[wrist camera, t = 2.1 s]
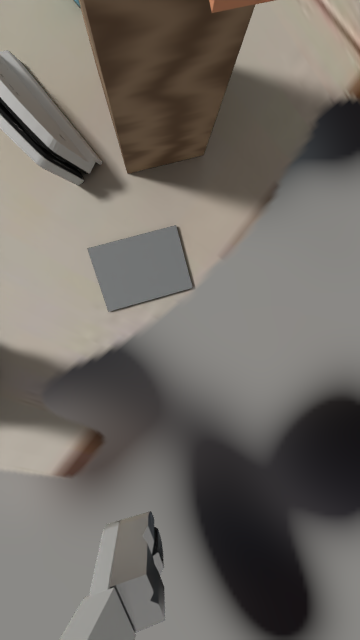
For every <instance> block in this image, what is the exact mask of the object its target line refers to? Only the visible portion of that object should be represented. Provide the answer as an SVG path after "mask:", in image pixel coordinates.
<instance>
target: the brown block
mask: <svg viewBox="0 0 360 640" xmlns="http://www.w3.org/2000/svg"><path fill="white" fill-rule="evenodd" d="M79 3H80V7H81V10H82V14H83V18H84V22H85V25H86V29H87V33H88V36H89V40H90V44H91V47H92V51H93V55H94V59H95V62H96V66H97V70H98V73H99V76H100V80H101V83H102V87H103V90H104V94H105V97H106V101H107V104H108V108H109V111H110V115H111V118H112V121H113V125H114V128H115V132H116V135H117V139H118V142H119V146H120V149H121V153H122V156H123V160H124V163H125V166H126V170H127V173H128V174H129V173H133V172H137V171H141V170H145V169H149V168H153V167H157V166H161V165H165V164H169V163H174V162H178V161H182V160H186V159H190V158H194V157H198V156H202V155H204V152H205V150H206V147H207V144H208V141H209V138H210V135H211V132H212V129H213V126H214V123H215V120H216V117H217V115H218V112H219V109H220V106H221V103H222V100H223V97H224V94H225V91H226V88H227V85H228V82H229V80H230V77H231V74H232V71H233V68H234V65H235V62H236V59H237V56H238V53H239V50H240V48H241V45H242V42H243V39H244V36H245V33H246V30H247V27H248V24H249V21H250V18H251V15H252V13H253V10H254V7H255V4H254V5H249V6H244V7H239V8H234V9H230V10H225V11H220V12H215V13H212V11H211V7H210V2H209V0H79Z"/></svg>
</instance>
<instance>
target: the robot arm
mask: <svg viewBox="0 0 360 640" xmlns="http://www.w3.org/2000/svg"><path fill="white" fill-rule="evenodd" d="M163 568H164V563H163V549H162V541H161V537H160V534H159V530H158V529H157V528H156V527H154V517H153V515H152V512H151V511H150V512H146V513H143V514H140V515H136V516H133V517H129V518H126V519H123V520H120V521H116V522H113V523H110V524H107V525H106V526H105V528H104V530H103V533H102V537H101V542H100V547H99V552H98V556H97V561H96V566H95V570H94V575H93V580H92V584H91V589H90V594H89V596H87V597H85V598H83V600H82V602H81V604H80V605H79V607H78V609H77V610H76V612H75V614H74V615H73V617H72V619H71V621H70V622H69V624H68V626H67V627H66V629H65V631H64V633H63V634H62V636H61V638H60V639H59V640H135V637H136V634H135V633H136V632H138V631H141V630H143V629H146V628H148V627H150V626H153V625H155V624H158V623H160V622H163V621H165V601H164V600H165V597H164V585H163V582H162V580H161V577H160V575H161V572H162V570H163Z"/></svg>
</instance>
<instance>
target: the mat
mask: <svg viewBox="0 0 360 640" xmlns="http://www.w3.org/2000/svg"><path fill="white" fill-rule="evenodd" d="M88 252H89V255H90V258H91V261H92V264H93V267H94V270H95V273H96V276H97V279H98V282H99V285H100V288H101V291H102V294H103V297H104V300H105V303H106V306H107V309H108V312H109V311H113V310H116V309H120V308H123V307H127V306H130V305H134V304H137V303H141V302H144V301H148V300H152V299H155V298H159V297H162V296H166V295H169V294H173V293H176V292H180V291H183V290H187V289H190V288H193V287H192V284H191V280H190V276H189V272H188V268H187V265H186V261H185V257H184V253H183V250H182V246H181V242H180V238H179V235H178V231H177V227H176V225H175V226H171V227H167V228H164V229H160V230H156V231H152V232H148V233H145V234H141V235H137V236H133V237H129V238H126V239H122V240H118V241H114V242H110V243H107V244H103V245H99V246H95V247H91V248H88Z"/></svg>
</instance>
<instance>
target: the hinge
mask: <svg viewBox="0 0 360 640" xmlns="http://www.w3.org/2000/svg"><path fill="white" fill-rule="evenodd" d="M0 128H1V129H2V130H3V131H4V133H5V134H6V135H7V136H8V137H9V138H10V139H11V140H12V141H13V142H14V143H15V144H16V145H17V146H19V147H20V148H21V149H22V150H23V151H24V152H25V153H26V154H27V155H28V156H29V157H30V158H31V159H32V160H33V161H34V162H35V163H36V164H38V165H39V166H40V167H42V168H43V169H45V170H47V171H49V172H51V173H53V174H56V175H58V176H60V177H62V178H64V179H66V180H68V181H70V182H72V183H74V184H76V185H80V184H81V183H83V182H84V180H83V179H82V178H83V175H82V174H81V173H80V172H79V170H80V171H81V172H83V173H85V174H86V173H87V172H88V173H89V174H90V172H91V170H92V168H93V166H94V164H95V162H96V163H98V164H100V165H101V164H102V161H101V160H100V158H99V157H98V156H97V155H96V153H95V152H94V151H93V150H92V149H91V147H90V146H89V145H88V144H87V142H86V141H85V140H84V139H83V138H82V136H81V135H80V134H79V133H78V131H77V130H76V129H75V128H74V127H73V125H72V124H71V123H70V122H69V120H68V119H67V118H66V117H65V116H64V114H63V113H62V112H61V111H60V109H59V108H58V107H57V106H56V105H55V103H54V102H53V101H52V100H51V98H50V97H49V96H48V95H47V94H46V92H45V91H44V90H43V89H42V87H41V86H40V85H39V84H38V83H37V81H36V80H35V79H34V78H33V76H32V75H31V74H30V73H29V71H28V70H27V69H26V68H25V67H24V65H23V64H22V63H21V62H20V60H18V59H17V58H16V57H15V56H14V55H13V54H12V53H11V52H10V51H8V50H6V51H1V52H0Z"/></svg>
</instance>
